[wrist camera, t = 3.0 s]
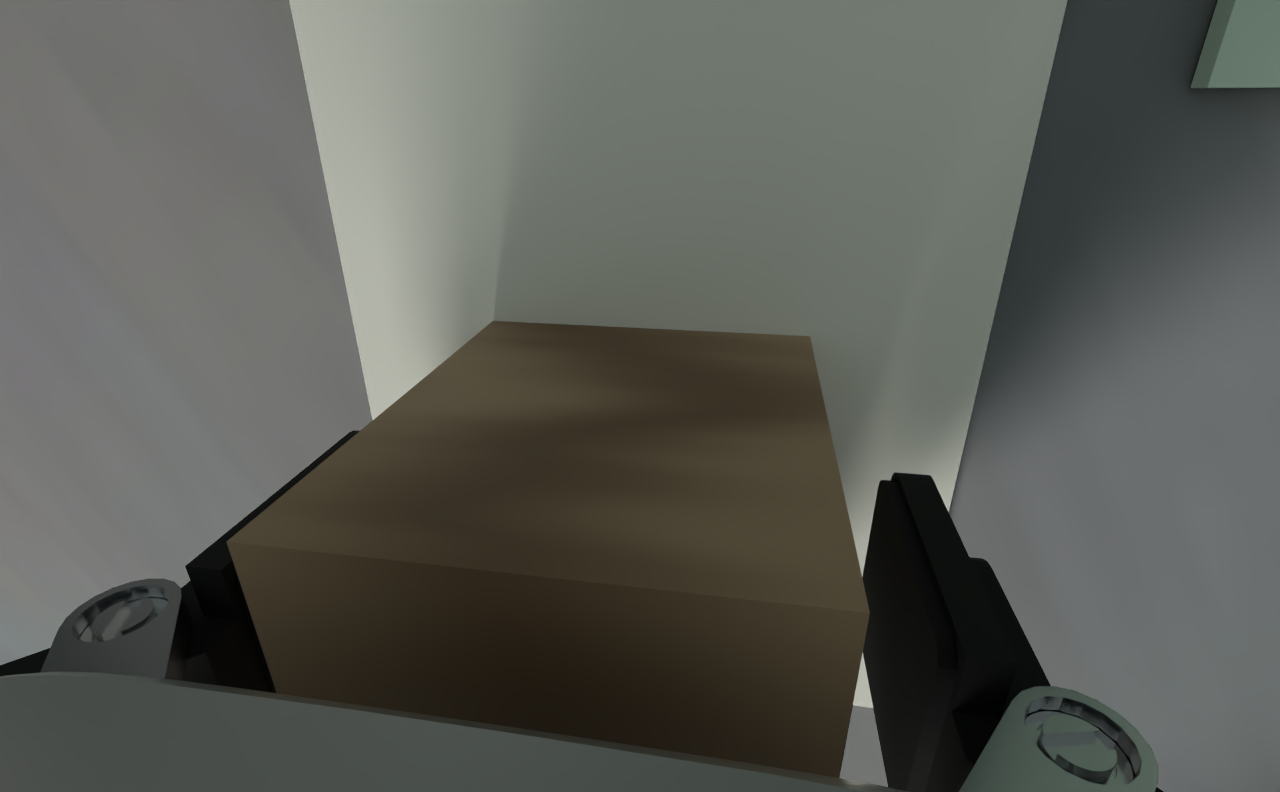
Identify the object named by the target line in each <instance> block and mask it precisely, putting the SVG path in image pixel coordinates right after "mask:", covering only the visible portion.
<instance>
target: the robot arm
mask: <svg viewBox="0 0 1280 792" xmlns="http://www.w3.org/2000/svg"><path fill="white" fill-rule="evenodd" d="M358 432H359V431H352V432H350V433H348V434H347V435H346V436H345V437H343V438H342V439H341V440H340V441H338V442H337V443H336V444H335V445H333V446H332V447H331V448H330V449H329V450H327V451H326V452H325V453H324V454H322V455H321V456H320V457H319V458H318V459H316V460H315V461H314V462H313V463H311V464H310V465H309V466H308V467H306V468H305V469H304V470H303V471H302V472H300V473H299V474H298V475H297V476H295V477H294V478H293V479H292V480H291V481H289V482H288V483H287V484H286V485H284V486H283V487H282V488H281V489H279V490H278V491H277V492H276V493H275V494H273V495H272V496H271V497H270V498H268V499H267V500H266V501H265V502H264V503H262V504H261V505H260V506H259V507H257V508H256V509H255V510H254V511H252V512H251V513H250V514H249V515H248V516H246V517H245V518H244V519H243V520H241V521H240V522H239V523H238V524H237V525H235V526H234V527H233V528H232V529H230V530H229V531H228V532H227V533H225V534H224V535H223V536H222V537H221V538H219V539H218V540H217V541H216V542H214V543H213V544H212V545H211V546H210V547H208V548H207V549H206V550H205V551H203V552H202V553H201V554H200V555H198V556H197V557H196V558H195V559H194V560H192V561H191V562H190V563H189V564H187V565H186V566H185V567H186V569H187V572H188V575H189V577H190V580H191V581H189V582H188V583H187V584H186V585H185V586H184V587H182V588H180V587H179V586H178V585H177V584H176V583H175V582H174V581H170V580H166V579H144V580H139V581H133V582H129V583H126V584H123V585H120V586H117V587H114V588H112V589H109V590H107V591H105V592H103V593H101V594H99V595H97V596H95V597H93V598H91V599H90V600H88V601H87V602H85V603H84V604H82V605H80V606H79V607H78V608H77V609H76V610H74V611H73V612H72V613H71V614H70V615H69V616H68V617H67V618H66V619H65V620H64V622H63V623H62V625H61V626H60V628H59V629H58V632H57V634H56V636H55V639H54V641H53V643H52V646H51V648H49V649H46V650H43V651H40V652H38V653H35V654H32V655H29V656H26V657H23V658H20V659H18V660H15V661H12V662H9V663H6V664H3V665H0V792H1163V791H1162V790H1160V789H1159V788H1157V787H1156V786H1157V783H1158V763H1157V761H1156V759H1155V756H1154V754H1153V751H1152V749H1151V747H1150V746H1149V744H1148V743H1147V742H1146V741H1145V739H1144V738H1143V737H1142V735H1141V734H1140V733H1139V732H1138V730H1137V729H1136V728H1135V727H1133V726H1132V725H1131V724H1130V723H1129V722H1128V721H1127V720H1125V719H1124V718H1123V717H1122V716H1121V715H1120V714H1119V713H1117V712H1115V711H1114V710H1112V709H1110V708H1109V707H1107V706H1106V705H1104V704H1102V703H1101V702H1099V701H1098V700H1095V699H1093V698H1091V697H1088V696H1086V695H1083V694H1081V693H1079V692H1076V691H1073V690H1068V689H1064V688H1059V687H1055V686H1050V684H1049V682H1048V680H1047V678H1046V676H1045V674H1044V672H1043V670H1042V668H1041V666H1040V664H1039V662H1038V660H1037V658H1036V656H1035V654H1034V652H1033V650H1032V648H1031V646H1030V644H1029V642H1028V640H1027V638H1026V636H1025V634H1024V632H1023V630H1022V628H1021V626H1020V624H1019V622H1018V620H1017V618H1016V616H1015V614H1014V612H1013V610H1012V608H1011V606H1010V604H1009V602H1008V600H1007V598H1006V596H1005V594H1004V592H1003V590H1002V588H1001V586H1000V584H999V582H998V580H997V578H996V576H995V574H994V572H993V570H992V568H991V566H990V565H989V563H988V562H987V561H986V560H984V559H981V558H970V557H969V556H968V554H967V551H966V549H965V547H964V545H963V543H962V541H961V538H960V536H959V534H958V532H957V530H956V528H955V525H954V523H953V521H952V519H951V517H950V515H949V513H948V510H947V508H946V506H945V504H944V502H943V500H942V497H941V495H940V493H939V491H938V489H937V487H936V484H935V482H934V480H933V478H932V477H931V475H923V474H910V473H897V472H895V473H894V474H893V475H892V477H891V481H890V480H881V481H880V483H879V486H878V490H877V496H876V502H875V508H874V513H873V519H872V525H871V531H870V536H869V542H868V548H867V553H866V559H865V565H864V571H863V576H862V579H863V584H864V588H865V593H866V597H867V602H868V607H869V611H870V615H869V620H868V626H867V631H866V637H865V642H864V647H863V656H864V662H865V667H866V672H867V677H868V683H869V688H870V693H871V698H872V703H873V709H874V714H875V719H876V724H877V730H878V735H879V740H880V745H881V751H882V756H883V761H884V766H885V772H886V777H887V782H888V787H884V786H879V785H875V784H870V783H864V782H859V781H853V780H847V779H842V778H836V777H830V776H824V775H818V774H812V773H806V772H800V771H793V770H787V769H781V768H776V767H770V766H764V765H758V764H752V763H746V762H739V761H732V760H726V759H719V758H713V757H706V756H700V755H693V754H687V753H680V752H674V751H667V750H660V749H654V748H647V747H641V746H634V745H628V744H621V743H615V742H608V741H602V740H595V739H589V738H582V737H575V736H569V735H562V734H555V733H548V732H542V731H535V730H528V729H521V728H514V727H508V726H501V725H494V724H487V723H481V722H474V721H467V720H460V719H453V718H446V717H439V716H433V715H426V714H419V713H412V712H405V711H398V710H391V709H384V708H377V707H370V706H363V705H356V704H349V703H342V702H335V701H328V700H320V699H313V698H306V697H299V696H292V695H285V694H278V693H277V692H276V689H275V686H274V683H273V680H272V677H271V674H270V671H269V668H268V665H267V662H266V659H265V656H264V653H263V650H262V647H261V644H260V641H259V638H258V635H257V632H256V629H255V626H254V623H253V620H252V617H251V614H250V611H249V608H248V605H247V602H246V599H245V596H244V593H243V590H242V587H241V584H240V581H239V578H238V575H237V572H236V569H235V566H234V563H233V560H232V557H231V554H230V551H229V548H228V545H227V541H228V540H229V539H230V538H232V537H233V536H234V535H235V534H236V533H238V532H239V531H240V530H241V529H242V528H244V527H245V526H246V525H247V524H248V523H250V522H251V521H252V520H253V519H254V518H256V517H257V516H258V515H259V514H260V513H262V512H263V511H264V510H265V509H267V508H268V507H269V506H270V505H271V504H273V503H274V502H275V501H276V500H277V499H279V498H280V497H281V496H282V495H283V494H285V493H286V492H287V491H288V490H289V489H291V488H292V487H293V486H294V485H295V484H297V483H298V482H299V481H300V480H302V479H303V478H304V477H305V476H306V475H308V474H309V473H310V472H311V471H312V470H314V469H315V468H316V467H317V466H318V465H320V464H321V463H322V462H323V461H324V460H326V459H327V458H328V457H329V456H330V455H332V454H333V453H334V452H335V451H337V450H338V449H339V448H340V447H341V446H343V445H344V444H345V443H346V442H347V441H349V440H350V439H351V438H352V437H353V436H355V435H356V434H357V433H358Z"/></svg>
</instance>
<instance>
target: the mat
mask: <svg viewBox="0 0 1280 792" xmlns="http://www.w3.org/2000/svg"><path fill="white" fill-rule="evenodd" d="M1190 88H1280V0H1218V1H1217V5H1216V8H1215V11H1214V14H1213V17H1212V20H1211V24H1210V27H1209V30H1208V33H1207V36H1206V39H1205V43H1204V46H1203V49H1202V52H1201V55H1200V58H1199V62H1198V65H1197V68H1196V71H1195V74H1194V78H1193V81H1192V84H1191V87H1190Z"/></svg>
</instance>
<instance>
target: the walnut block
mask: <svg viewBox="0 0 1280 792" xmlns="http://www.w3.org/2000/svg"><path fill="white" fill-rule="evenodd" d="M227 545H228V548H229V551H230V554H231V557H232V560H233V563H234V566H235V569H236V572H237V575H238V578H239V581H240V584H241V587H242V590H243V593H244V596H245V599H246V602H247V605H248V608H249V611H250V614H251V617H252V620H253V623H254V626H255V629H256V632H257V635H258V638H259V641H260V644H261V647H262V650H263V653H264V656H265V659H266V662H267V665H268V668H269V671H270V674H271V677H272V680H273V683H274V686H275V689H276V692H277V693H278V694H285V695H292V696H299V697H306V698H313V699H320V700H328V701H335V702H342V703H349V704H356V705H363V706H370V707H377V708H384V709H391V710H398V711H405V712H412V713H419V714H426V715H433V716H439V717H446V718H453V719H460V720H467V721H474V722H481V723H487V724H494V725H501V726H508V727H514V728H521V729H528V730H535V731H542V732H548V733H555V734H562V735H569V736H575V737H582V738H589V739H595V740H602V741H608V742H615V743H621V744H628V745H634V746H641V747H647V748H654V749H660V750H667V751H674V752H680V753H687V754H693V755H700V756H706V757H713V758H719V759H726V760H732V761H739V762H746V763H752V764H758V765H764V766H770V767H776V768H781V769H787V770H793V771H800V772H806V773H812V774H818V775H824V776H830V777H836V778H839V777H840V771H841V766H842V760H843V755H844V750H845V744H846V739H847V733H848V728H849V723H850V717H851V712H852V707H853V701H854V696H855V690H856V685H857V680H858V674H859V669H860V663H861V658H862V653H863V647H864V642H865V637H866V631H867V626H868V620H869V615H870V611H869V607H868V602H867V597H866V593H865V588H864V584H863V579H862V574H861V570H860V565H859V561H858V556H857V551H856V547H855V542H854V538H853V533H852V528H851V524H850V519H849V514H848V510H847V505H846V501H845V496H844V491H843V487H842V482H841V478H840V473H839V468H838V464H837V459H836V455H835V450H834V445H833V441H832V436H831V431H830V427H829V422H828V418H827V413H826V408H825V404H824V399H823V395H822V390H821V385H820V381H819V376H818V372H817V367H816V362H815V358H814V353H813V348H812V344H811V339H810V336H793V335H772V334H752V333H731V332H711V331H690V330H670V329H649V328H629V327H608V326H588V325H567V324H547V323H526V322H506V321H492V322H491V323H490V324H489V325H487V326H486V327H485V328H484V329H483V330H481V331H480V332H479V333H478V334H476V335H475V336H474V337H473V338H472V339H470V340H469V341H468V342H467V343H466V344H464V345H463V346H462V347H461V348H460V349H458V350H457V351H456V352H455V353H454V354H452V355H451V356H450V357H449V358H448V359H446V360H445V361H444V362H443V363H442V364H440V365H439V366H438V367H437V368H435V369H434V370H433V371H432V372H431V373H429V374H428V375H427V376H426V377H425V378H423V379H422V380H421V381H420V382H419V383H417V384H416V385H415V386H414V387H413V388H411V389H410V390H409V391H408V392H407V393H405V394H404V395H403V396H402V397H400V398H399V399H398V400H397V401H396V402H394V403H393V404H392V405H391V406H390V407H388V408H387V409H386V410H385V411H384V412H382V413H381V414H380V415H379V416H378V417H376V418H375V419H374V420H373V421H372V422H370V423H369V424H368V425H367V426H365V427H364V428H363V429H362V430H361V431H359V432H358V433H357V434H356V435H355V436H353V437H352V438H351V439H350V440H349V441H347V442H346V443H345V444H344V445H343V446H341V447H340V448H339V449H338V450H337V451H335V452H334V453H333V454H332V455H330V456H329V457H328V458H327V459H326V460H324V461H323V462H322V463H321V464H320V465H318V466H317V467H316V468H315V469H314V470H312V471H311V472H310V473H309V474H308V475H306V476H305V477H304V478H303V479H302V480H300V481H299V482H298V483H297V484H295V485H294V486H293V487H292V488H291V489H289V490H288V491H287V492H286V493H285V494H283V495H282V496H281V497H280V498H279V499H277V500H276V501H275V502H274V503H273V504H271V505H270V506H269V507H268V508H267V509H265V510H264V511H263V512H262V513H260V514H259V515H258V516H257V517H256V518H254V519H253V520H252V521H251V522H250V523H248V524H247V525H246V526H245V527H244V528H242V529H241V530H240V531H239V532H238V533H236V534H235V535H234V536H233V537H232V538H230V539H229V540H228V541H227Z"/></svg>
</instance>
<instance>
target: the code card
mask: <svg viewBox="0 0 1280 792" xmlns="http://www.w3.org/2000/svg"><path fill="white" fill-rule="evenodd" d="M289 1H290V6H291V11H292V16H293V21H294V26H295V32H296V37H297V42H298V47H299V52H300V57H301V62H302V67H303V72H304V77H305V82H306V87H307V92H308V97H309V102H310V107H311V112H312V117H313V122H314V127H315V132H316V138H317V143H318V148H319V153H320V158H321V163H322V168H323V173H324V178H325V183H326V188H327V193H328V198H329V203H330V208H331V213H332V218H333V223H334V228H335V233H336V238H337V243H338V249H339V254H340V259H341V264H342V269H343V274H344V279H345V284H346V289H347V294H348V299H349V304H350V309H351V314H352V319H353V324H354V329H355V334H356V339H357V344H358V349H359V355H360V360H361V365H362V370H363V375H364V380H365V385H366V390H367V395H368V400H369V405H370V410H371V415H372V420H374V419H375V418H376V417H378V416H379V415H380V414H381V413H382V412H384V411H385V410H386V409H387V408H388V407H390V406H391V405H392V404H393V403H394V402H396V401H397V400H398V399H399V398H400V397H402V396H403V395H404V394H405V393H407V392H408V391H409V390H410V389H411V388H413V387H414V386H415V385H416V384H417V383H419V382H420V381H421V380H422V379H423V378H425V377H426V376H427V375H428V374H429V373H431V372H432V371H433V370H434V369H435V368H437V367H438V366H439V365H440V364H442V363H443V362H444V361H445V360H446V359H448V358H449V357H450V356H451V355H452V354H454V353H455V352H456V351H457V350H458V349H460V348H461V347H462V346H463V345H464V344H466V343H467V342H468V341H469V340H470V339H472V338H473V337H474V336H475V335H476V334H478V333H479V332H480V331H481V330H483V329H484V328H485V327H486V326H487V325H489V324H490V323H491V322H492V321H506V322H526V323H547V324H567V325H588V326H608V327H629V328H649V329H670V330H690V331H711V332H731V333H752V334H772V335H793V336H810V339H811V344H812V348H813V353H814V358H815V362H816V367H817V372H818V376H819V381H820V385H821V390H822V395H823V399H824V404H825V408H826V413H827V418H828V422H829V427H830V431H831V436H832V441H833V445H834V450H835V455H836V459H837V464H838V468H839V473H840V478H841V482H842V487H843V491H844V496H845V501H846V505H847V510H848V514H849V519H850V524H851V528H852V533H853V538H854V542H855V547H856V551H857V556H858V561H859V565H860V570H861V574H862V576H863V571H864V565H865V559H866V553H867V548H868V542H869V536H870V531H871V525H872V519H873V513H874V508H875V502H876V496H877V490H878V486H879V483H880V481H881V480H890V481H891V477H892V475H893V474H894V473H895V472H897V473H910V474H923V475H931V477H932V478H933V480H934V482H935V484H936V487H937V489H938V491H939V493H940V495H941V497H942V500H943V502H944V504H945V506H946V508H947V510H948V513H949V509H950V505H951V500H952V496H953V492H954V487H955V483H956V479H957V474H958V470H959V466H960V461H961V457H962V453H963V449H964V444H965V440H966V436H967V431H968V427H969V423H970V418H971V414H972V410H973V405H974V401H975V397H976V393H977V388H978V384H979V380H980V375H981V371H982V367H983V362H984V358H985V354H986V349H987V345H988V341H989V337H990V332H991V328H992V324H993V319H994V315H995V311H996V306H997V302H998V298H999V293H1000V289H1001V285H1002V281H1003V276H1004V272H1005V268H1006V263H1007V259H1008V255H1009V250H1010V246H1011V242H1012V237H1013V233H1014V229H1015V224H1016V220H1017V216H1018V212H1019V207H1020V203H1021V199H1022V194H1023V190H1024V186H1025V181H1026V177H1027V173H1028V168H1029V164H1030V160H1031V156H1032V151H1033V147H1034V143H1035V138H1036V134H1037V130H1038V125H1039V121H1040V117H1041V112H1042V108H1043V104H1044V100H1045V95H1046V91H1047V87H1048V82H1049V78H1050V74H1051V69H1052V65H1053V61H1054V56H1055V52H1056V48H1057V43H1058V39H1059V35H1060V31H1061V26H1062V22H1063V18H1064V13H1065V9H1066V5H1067V0H289ZM853 705H855V706H862V707H870V708H873V703H872V698H871V693H870V688H869V683H868V677H867V672H866V667H865V662H864V656H863V653H862V658H861V663H860V669H859V674H858V680H857V685H856V690H855V696H854V701H853Z"/></svg>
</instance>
